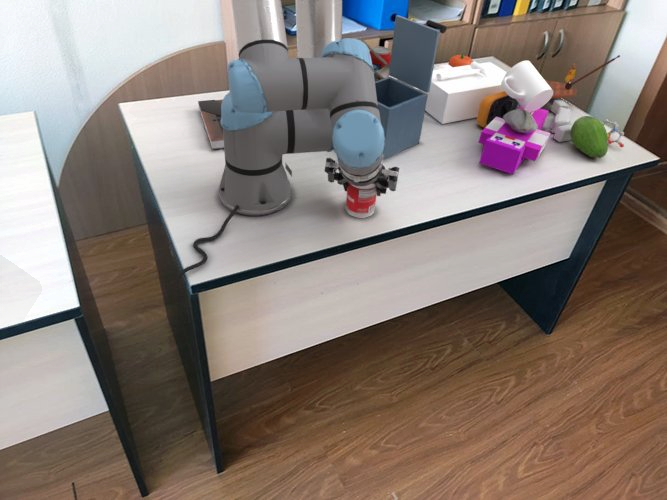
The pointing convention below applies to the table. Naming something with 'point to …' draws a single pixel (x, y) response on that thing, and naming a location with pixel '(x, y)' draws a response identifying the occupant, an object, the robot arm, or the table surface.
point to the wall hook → (385, 70)
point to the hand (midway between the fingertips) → (363, 187)
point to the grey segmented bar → (561, 121)
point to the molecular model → (614, 132)
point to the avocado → (590, 136)
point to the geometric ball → (442, 66)
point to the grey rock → (520, 121)
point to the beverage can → (377, 63)
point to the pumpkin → (460, 61)
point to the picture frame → (212, 121)
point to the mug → (527, 86)
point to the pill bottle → (361, 200)
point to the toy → (512, 143)
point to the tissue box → (462, 90)
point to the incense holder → (569, 83)
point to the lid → (414, 51)
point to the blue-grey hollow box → (400, 114)
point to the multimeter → (495, 107)
